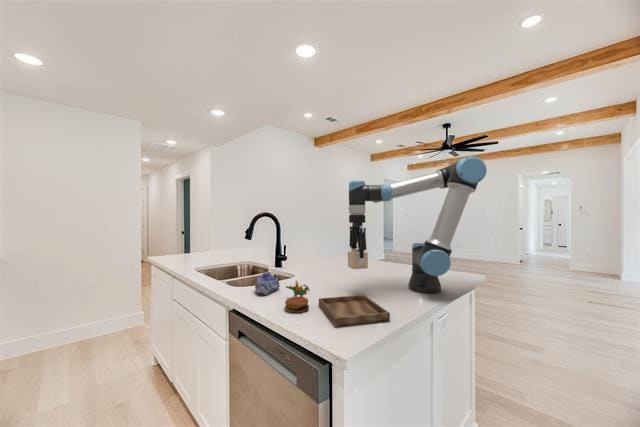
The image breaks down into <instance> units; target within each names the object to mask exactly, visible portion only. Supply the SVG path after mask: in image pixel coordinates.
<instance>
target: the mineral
mask: <svg viewBox="0 0 640 427" xmlns="http://www.w3.org/2000/svg"><path fill="white" fill-rule="evenodd" d="M254 290H255V292H256V293H258V294H263V295H268V294H271V293H272V292H274V291H279V290H280V281H279V279H278V278H276V277H273V275H272V274H271V272H269V271H267V272H263V273H262V274H261V275H260V276H258V277H256V282H255V284H254Z"/></svg>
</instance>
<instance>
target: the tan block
mask: <svg viewBox="0 0 640 427" xmlns="http://www.w3.org/2000/svg"><path fill="white" fill-rule="evenodd" d="M368 256H369V253H368V252H366V251H364V265H361V266H358V251H351V250H350V251H347V267H348V268H350V269H352V270H361V269H369V263H368V262H369V259H368V258H369V257H368Z"/></svg>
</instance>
